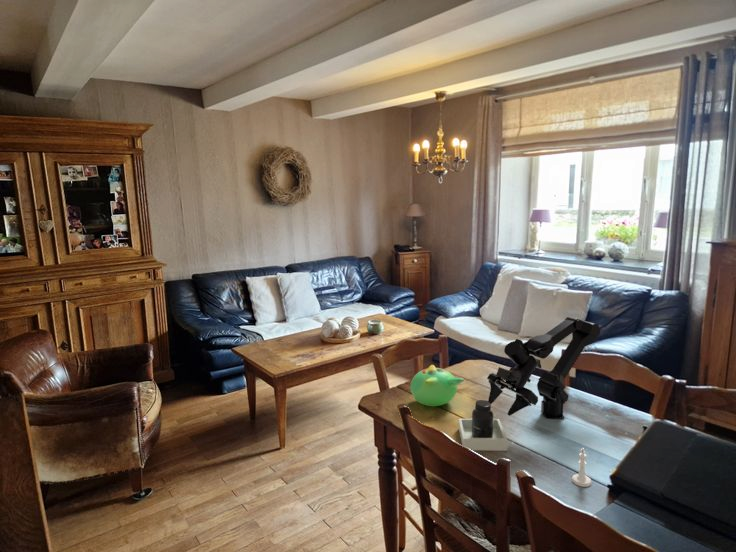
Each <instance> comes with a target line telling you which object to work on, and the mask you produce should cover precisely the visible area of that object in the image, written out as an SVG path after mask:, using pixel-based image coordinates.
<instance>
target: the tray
mask: <svg viewBox="0 0 736 552" xmlns="http://www.w3.org/2000/svg"><path fill="white" fill-rule="evenodd" d="M502 425H503V424H502V423H501V421H500V418H493V438H473V437H472V418H458V431H459V436H460V440H461V441H460V442H461V445H463V446H466V447H468V448H470V449H472V450H471V451H491V452H492V451H493V452H494V451H499V452H501V451H503V452H504V451H505V452H506V451H508V438H507V434H506V432H505V430H504V428H503V426H502ZM463 446H462V447H463Z"/></svg>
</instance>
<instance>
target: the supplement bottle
mask: <svg viewBox="0 0 736 552" xmlns="http://www.w3.org/2000/svg"><path fill="white" fill-rule="evenodd" d="M491 405H492V404H490V402H488V400H485V399H479V400H476V401H475V407H474V409H473V410H472V412H471V419H472V437H473V438H493V419H494V417H495V415H494V412H493V410H491V409H492V407H491Z"/></svg>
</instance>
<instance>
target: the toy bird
mask: <svg viewBox="0 0 736 552" xmlns="http://www.w3.org/2000/svg"><path fill="white" fill-rule="evenodd" d="M463 382H465V379H464V378H461V377H455V376H454V375H453V374H452V373H451V372H450V371H448V370H446V369H444V368H440V367H436V366H435V365H434V364H431V365H429V366H428V367H427V368H424V369H422V370H420V371H418V372H417V373H416V374H415V375H414V376H413V377H412V380H411V381H410V391H411V394H412V397H413V398H414V399H415V400H416V401H417V402H418V403H420V404H421V405H424V406H427V407H441V406H444V405H446V404H448V403H450V402H451V401H452V400H453V398H455V395H456V394H457V390H458V385H460V384H462V383H463Z"/></svg>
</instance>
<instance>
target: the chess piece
mask: <svg viewBox="0 0 736 552" xmlns="http://www.w3.org/2000/svg"><path fill="white" fill-rule="evenodd" d="M580 451H581V452H580V453H579V454H578V456H579V460H578V464H579V465H580V466H579V470H578V473H576V474H573V475H572V477H571V481H572V482H573V483H574V484H575V485H577V486H578V487H579V486H580V487H583V488H585V487H586V488H587V487H590V486H591V485H592V479H591V478H590V477H589V476H587V475H586V471H585V466H587V462H586V459H587V457H588V455H587V454H586V450H585V448H584V447H581V448H580Z"/></svg>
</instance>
